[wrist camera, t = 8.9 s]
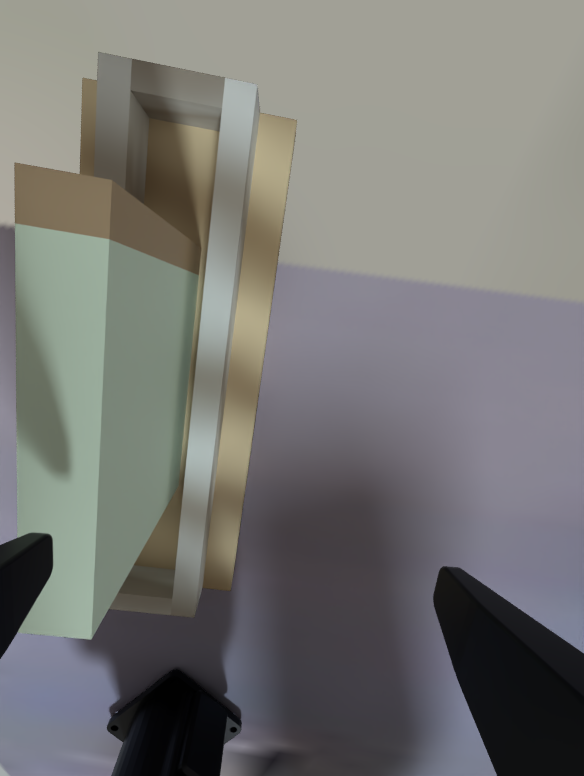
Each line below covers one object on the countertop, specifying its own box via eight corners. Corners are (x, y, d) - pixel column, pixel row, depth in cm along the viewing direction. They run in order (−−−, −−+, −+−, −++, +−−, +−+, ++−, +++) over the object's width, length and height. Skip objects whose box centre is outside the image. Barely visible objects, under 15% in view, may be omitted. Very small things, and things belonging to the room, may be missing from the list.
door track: (233, 572, 22) (225, 620, 19) (83, 555, 21) (45, 602, 18) (295, 136, 17) (299, 92, 13) (100, 98, 16) (52, 42, 13)
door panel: (178, 485, 19) (91, 639, 10) (140, 480, 19) (17, 632, 10) (201, 248, 16) (112, 180, 8) (157, 240, 16) (14, 162, 7)
